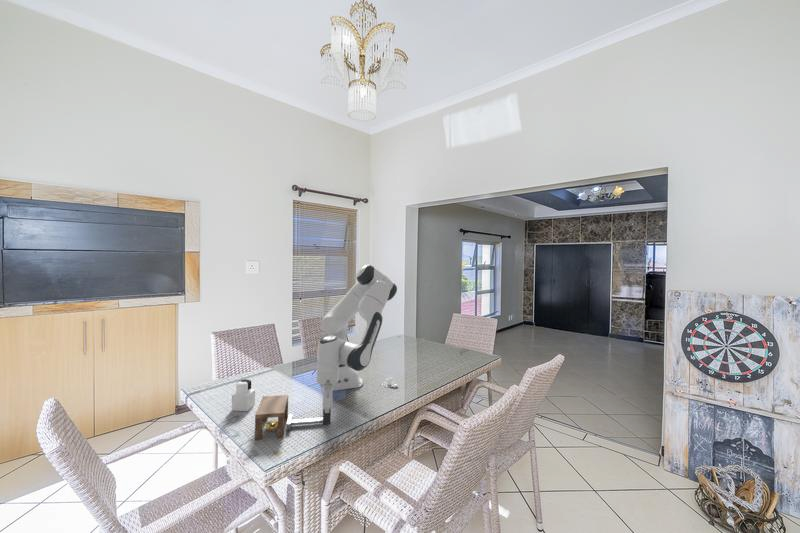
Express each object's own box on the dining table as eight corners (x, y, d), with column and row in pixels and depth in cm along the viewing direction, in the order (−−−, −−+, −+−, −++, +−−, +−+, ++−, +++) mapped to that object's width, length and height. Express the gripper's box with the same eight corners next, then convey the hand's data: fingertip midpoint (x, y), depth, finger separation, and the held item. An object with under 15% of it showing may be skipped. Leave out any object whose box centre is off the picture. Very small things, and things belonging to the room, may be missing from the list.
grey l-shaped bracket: (330, 417, 141) (330, 389, 141) (330, 426, 133) (331, 397, 133) (288, 420, 137) (289, 391, 137) (286, 430, 129) (287, 400, 129)
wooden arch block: (287, 417, 141) (288, 395, 141) (283, 437, 126) (283, 412, 125) (262, 418, 139) (263, 396, 139) (254, 440, 123) (255, 414, 123)
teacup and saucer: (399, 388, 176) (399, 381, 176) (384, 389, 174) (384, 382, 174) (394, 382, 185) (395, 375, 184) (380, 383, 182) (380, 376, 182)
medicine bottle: (239, 403, 152) (240, 377, 152) (255, 404, 152) (255, 378, 151) (231, 410, 145) (231, 383, 145) (247, 411, 145) (248, 384, 144)
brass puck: (279, 424, 135) (280, 419, 135) (278, 431, 130) (278, 426, 130) (266, 425, 134) (266, 420, 134) (264, 432, 129) (264, 427, 129)
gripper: (336, 386, 127) (335, 421, 127) (334, 367, 147) (333, 398, 147) (319, 387, 125) (318, 423, 126) (320, 368, 145) (319, 399, 146)
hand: (326, 409), depth 137 cm, fingers closed on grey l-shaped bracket, 2 cm apart
